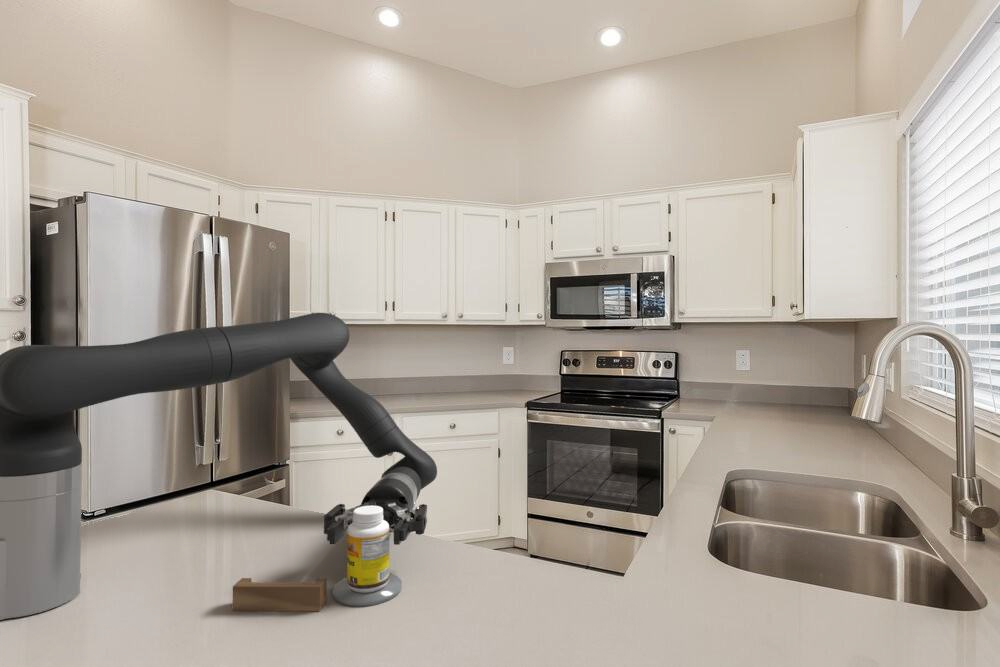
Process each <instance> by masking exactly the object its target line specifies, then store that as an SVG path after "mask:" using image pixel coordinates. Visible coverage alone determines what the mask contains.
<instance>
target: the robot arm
mask: <svg viewBox="0 0 1000 667" xmlns="http://www.w3.org/2000/svg"><path fill="white" fill-rule="evenodd" d="M349 340H350V329H349V327H348V325H347V324H346V322H345V321H344V320H342V319H341V318H339V317H338V316H337V315H334V314H332V313H328V312H327V313H326V312H313V313H307V314H303V315H299V316H294V317H290V318H284V319H280V320H275V321H266V322H253V323H246V324H236V325H225V326H224V325H223V326H213V327H212V326H211V327H209V326H208V327H202V328H200V327H199V328H193V329H192V328H191V329H185V330H179V331H175V332H170V333H169V332H168V333H164V334H161V335H156V336H154V337H149V338H146V339H143V340H139V341H138V340H137V341H134V342H127V343H119V344H105V345H102V344H101V345H52V344H28V345H21V346H17V347H13V348H10V349H8V350H6V351H5V352H2V353H1V354H0V621H2V620H6V619H12V618H14V619H15V618H20V617H26V616H31V615H35V614H38V613H39V614H40V613H42V612H45V611H49V610H51V609H54V608H57V607H59V606H61V605H64V604H65V603H67V602H69V601H71V600H73V599H74V598H75V597H77V596H78V595H79V593H80V591H81V579H82V578H81V577H82V576H81V575H82V574H81V573H82V572H81V555H82V554H81V553H82V552H81V550H82V549H81V546H82V544H81V543H82V540H81V538H82V484H83V483H82V481H83V480H82V479H83V478H82V475H83V472H82V471H83V464H82V462H83V448H82V443H81V441H80V438H79V437H78V434H77V430H76V426H75V411H77V410H80V409H84V408H87V407H90V406H94V405H97V404H100V403H101V404H102V403H106V402H109V401H114V400H116V399H117V400H118V399H120V398H124V397H129V396H135V395H140V394H148V393H150V394H151V393H161V392H172V391H179V390H186V389H193V388H201V387H206V386H207V387H208V386H212V385H216V384H217V385H218V384H222V383H226V382H230V381H234V380H237V379H240V378H243V377H246V376H248V375H251V374H254V373H256V372H258V371H260V370H262V369H265V368H267V367H270V366H272V365H274V364H276V363H278V362H281V361H285V360H288V359H290V360H291V362H292V363H293V364H294V366H295V367H296V368H297V369H298V370H299V371H300V372H301V373H302V374H303V376H305V377H306V378H307V379H308V380H309V381H310V382H311V384H312V385H314V386H315V387H316V389H318V390H319V391H320V393H322V395H323V396H324V397H325V398H327V400H328V401H329V402H330V403H331V404H332V405H333V406H334V407H335V408H336V409H337V410H338V411H339V412H340V414H341V415H342V416H343V417H344V419H346V421H347V422H348V423H349V425H350V426H351V428H352V429H353V430H354V432H355V433H356V434H357V436H358V437H359V438H360V440H361V441H362V443H363V444H364V446H365V447H366V449H367V450H368V452H370V455H371V456H373V457H374V458H376V459H379V458H383V457H385V456H387V455H389V454H392V453H399V454H400V455H403V456H404V457H403V458H401V459H400V460H398V461H397V462H395V463H394V464H393V465H391V466H390V467H389V468H387V469H386V470H385V471H384V472H383V473H382V474H381V478H380V479H378V480H377V482H376V483H375V484H374V485H373V486H372V487H371V488H370V489H369V490H368V491H367V492H366V494H365V495H364V496H363V499H362V500H361V503H360V504H359V505H357V506H355V507H351V508H349V509H346V504H344V503H339V504H336V505H335V506H334V507H332V508H331V509H330V510H329V511H328V512H326V513H325V514H324V515H323V534H324V535H326V541H328V542H329V545H337V544H338V542H339V541H340V540H341V539H342V538H343V536H344V535H347V529H348V527H349V525H350V524H351V523H353V511H354V510H355V509H356V508H359V507H362V506H380V507H382V508H383V520H385V521H386V522H387V523H388V524H389V534H391V533H393V546H394V545H395V546H397V545H399V546H400V544H401V543H402V542H405V541H406V540H407V539H408V537H409V536H411V533H414V532H415V535H419V536H420V535H423V534H425V531H426V528H427V527H426V526H427V523H428V505H427V504H425V503H422V504H419V505H418V507H417V506H416V502H417V500H418V498H419V495H420V494H421V491H422V490H423V489H424V488H425V487H428V486H429V485H430V484H431V483H433V482H434V481H435V480H436V478H437V475H438V468H437V464H436V461H435V460H434V459H433V457H432V456H430V455H429V454H428V453H427V452H426V451H425V450H423V449H422V448H421V447H419V446H418V445H417V444H415V443H414V442H413V441H412V440H411V439H410V438H409V437H408V436H407V435H406V434H405V433H404V432H403V431H402V429H400V427H399V425H397V423H396V422H395V420H394V419H393V417H392V416H391V415H390V413H389V411H388V410H387V409H386V408H385V407H384V405H383V404H382V403H380V402H379V401H378V400H377V399H376V398H374V397H373V396H372V395H370V394H369V393H367V392H365V391H364V390H362V389H360V388H358V387H357V386H355V385H354V384H353V383H351V382H350V381H349V380H348V379H347V377H345V376H344V375H343V374H342V372H341V371H340V369H339V368H338V366H337V365H336V363H335V361H334V360H335V359H336V358H338V356H340V355H341V354H342V353H343V352H344V350H345V349H346V347H347V346H348V344H349ZM346 521H347V525H346V526H345V524H346Z"/></svg>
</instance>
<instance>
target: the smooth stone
mask: <svg viewBox="0 0 1000 667" xmlns="http://www.w3.org/2000/svg"><path fill="white" fill-rule="evenodd" d="M402 582H403V581H402V579H401V578H400V577H399V576H398V575H396V574H395V573H391V572H389V581H388V583H387V585H386V586H385V587H383V588H382V589H380V590H377V591H374V592H369V593H359V592H355V591H353V590H351V589H350V588H349V586H348V583H347V576H346V577H344V578H342V579H340V580H339V581H338V582H336V583H335V584H334V587H333V590H332V596H333V599H334V600H335V601H336V602H338V603H339V604H342V605H344V606H348V607H359V608H361V607H370V606H371V607H372V606H375V605H376V606H377V605H380V604H383V603H386V602H388V601H391V600H393V599H394V598H396V597H397V596H398V595H399V594H400V593H401V591H402V588H403V587H402Z"/></svg>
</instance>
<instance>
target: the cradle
mask: <svg viewBox="0 0 1000 667" xmlns="http://www.w3.org/2000/svg"><path fill="white" fill-rule="evenodd" d="M327 581H328V580H327V578H325V577H324V578H323V577H322V578H319V577H318V578H316V580H315V581H313V582H287V581H286V582H282V581H281V582H276V581H275V582H274V581H273V582H271V581H270V582H268V581H264V582H263V581H262V582H261V581H260V582H259V581H257V582H255V581H253V582H252V578H251V577H242V578H241V579H240V580H238V581H237V582H236V583H235V584H233V586H232V611H236V612H237V611H239V612H242V611H243V612H321V611H322V609H323V607H324V606H325V605H326V603H327V584H328V583H327Z"/></svg>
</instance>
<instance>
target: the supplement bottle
mask: <svg viewBox="0 0 1000 667" xmlns="http://www.w3.org/2000/svg"><path fill="white" fill-rule="evenodd" d="M346 537H347V538H346V540H347V541H346V542H347V543H346V547H347V548H346V550H347V551H346V554H347V558H346V560H347V561H346V565H347V566H346V567H347V568H346V569H347V570H346V572H347V573H346V574H347V576H346V577H347V583H348V586H349V588H350V589H351V590H353V591H355V592H359V593H369V592H374V591H377V590H380V589H382V588H383V587H385V586H386V585H387V583H388V581H389V573H390V533H389V524H388V523H387V522H386V521H385V520H383V508H382V507H380V506H362V507H359V508H356V509H355V510H354V511H353V523H351V524H350V525H349V527H348V529H347V534H346Z"/></svg>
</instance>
